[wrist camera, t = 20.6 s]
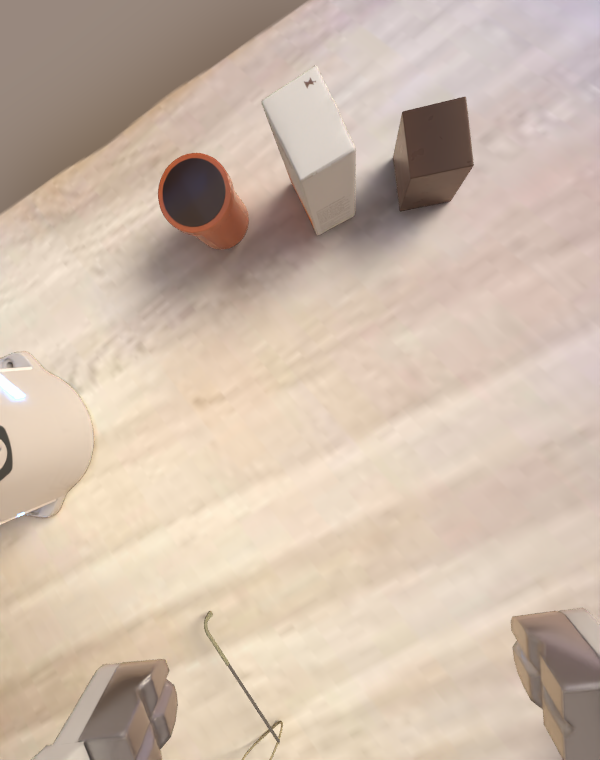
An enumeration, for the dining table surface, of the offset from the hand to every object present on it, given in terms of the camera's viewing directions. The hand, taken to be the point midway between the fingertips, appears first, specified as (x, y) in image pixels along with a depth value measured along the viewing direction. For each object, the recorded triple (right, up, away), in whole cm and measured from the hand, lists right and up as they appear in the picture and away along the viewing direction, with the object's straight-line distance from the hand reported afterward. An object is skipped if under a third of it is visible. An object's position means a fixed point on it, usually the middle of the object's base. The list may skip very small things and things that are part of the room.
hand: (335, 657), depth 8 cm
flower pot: (-9, +23, +28) cm, 37 cm away
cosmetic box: (+1, +24, +27) cm, 36 cm away
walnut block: (+10, +25, +25) cm, 37 cm away
